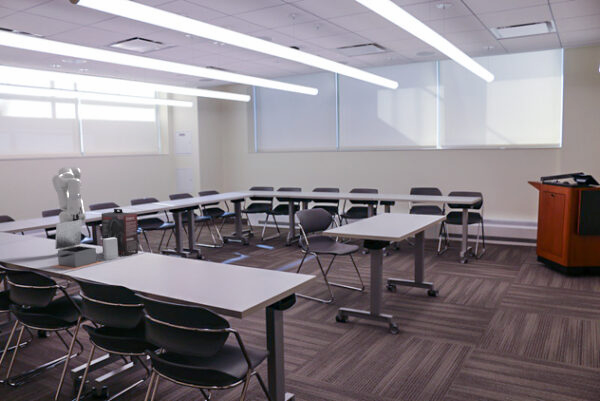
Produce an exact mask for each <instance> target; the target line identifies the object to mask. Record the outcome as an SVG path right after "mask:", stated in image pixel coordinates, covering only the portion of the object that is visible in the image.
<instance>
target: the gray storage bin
mask: <svg viewBox="0 0 600 401" xmlns="http://www.w3.org/2000/svg"><path fill="white" fill-rule="evenodd" d="M57 256H58V258H57V259H58V260H57V261H58V264H59V266H66V267H72V268H78V267H82V266H86V265H90V264H94V263H96V261H97V248H96V247H89V246H83V245H82V246H81V245H76V247H72V248H67V249H62V250H60V249H57ZM94 265H95V264H94ZM90 266H91V265H90Z"/></svg>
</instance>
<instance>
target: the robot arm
mask: <svg viewBox="0 0 600 401" xmlns="http://www.w3.org/2000/svg"><path fill="white" fill-rule="evenodd" d="M81 177H82V171H81V168H79V167H77V166H63V167H62V168H60V169H59V170H58V174H55V175H54V176H52V181H51V182H52V186H53V188H54V190H55V192H56V195H57V198H58V199H57V200H58V205H59V208H60V210H61V211H60V213H59V214H58V218H59V219H58V220H59V223H61V222H68V221H75V220H82V223H85V222H86V220H87V218H86V216H87V215H86V212H85V205H84V201H83V199H82V192H81V190H82V189H81V186H82V181H81ZM72 247H77V245H75V246H70V247H65V248H60V249H59V250H62V249H67V248H72Z"/></svg>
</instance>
